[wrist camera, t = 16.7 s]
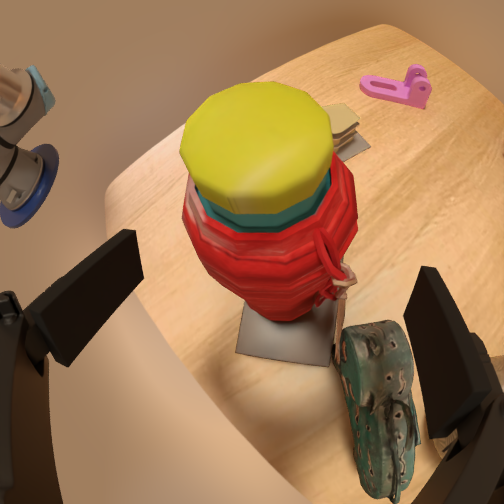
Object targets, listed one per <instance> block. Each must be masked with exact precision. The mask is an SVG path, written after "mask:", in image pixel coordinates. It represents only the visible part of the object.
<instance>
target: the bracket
mask: <svg viewBox="0 0 504 504" xmlns="http://www.w3.org/2000/svg"><path fill="white" fill-rule="evenodd" d="M416 73H419V74H416ZM375 86H376V87H375ZM380 87H381V88H380ZM384 88H385V89H384ZM360 89H361V91H362V92H363V93H365V94H366V95H368V96H370V97H374V98H379V99H384V100H388V101H393V102H397V103H401V104H405V105H410V106H413V107H417V108H421V109H424V107H425V105H426V102H427V100H428V98H429V95H430V93H431V90H432V88H431V85H430V82H429V80H428V79H427V73H426V71H425V69H424V67H423V66H421V65H419V64H413V65H411V66H410V67H409V68H408V71H407V74H406V77H405V81H404V82H400V81H396V80H392V79H387V78H383V77H378V76H373V75H366V76H363V77H362V78H361V80H360ZM389 89H390V90H389Z"/></svg>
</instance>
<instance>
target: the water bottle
mask: <svg viewBox="0 0 504 504" xmlns="http://www.w3.org/2000/svg"><path fill="white" fill-rule="evenodd" d="M333 149H334V145H333V137H332V129H331V122H330V117H329V115H328V113H327V112H326V111H325V110H324V109H323V108H322V107H321V106H320V105H319V104H318V103H317V102H316V101H315V100H314V99H313V98H312V97H311V96H310V95H309V94H308V93H307V92H305V91H302V90H299V89H296V88H293V87H290V86H287V85H284V84H281V83H277V82H253V83H240V84H238V85H235V86H233V87H230V88H228V89H226V90H223V91H221V92H219V93H217V94H214V95H212V96H210V97H209V98H208V99H207V100H206V101H205V102H204V103H203V104H202V105H201V106H200V107H199V108H198V109H197V110H196V111H195V112H194V113H193V114H192V115H191V116H190V117H189V119H188V120H187V121H186V125H185V129H184V133H183V137H182V141H181V145H180V151H179V153H180V155H181V157H182V159H183V161H184V163H185V165H186V167H187V170H188V172H189V176H188V181H187V187H186V193H185V199H184V205H183V212H182V221H183V223H184V225H185V228H186V230H187V232H188V235H189V237H190V239H191V241H192V244H193V246H194V248H195V251H196V253H197V255H198V257H199V259H200V261H201V262H202V264H203V266H204V267H205V269H206V270H207V272H208V274H209V275H210V276H212V277H213V278H214V279H215V280H216V281H218V282H219V283H220V284H221V285H222V286H224V287H225V288H227V289H228V290H230V291H232V292H233V293H235V294H236V295H238V296H239V297H241V298H243V299H244V300H245V301H246V302H247V304H248V306H249V307H250V308H251V309H253V310H254V311H256V312H257V313H259V314H261V315H262V316H264V317H266V318H267V319H269V320H273V321H292V320H294V319H296V318H297V317H299V316H301V315H303V314H305V313H307V312H308V311H310V310H311V308H312V307H313V305H314V303H315V306H316V307H317V308H318V307H319V306H320V305H321V304H322V303H323V302H324V301H325V300H326V299H330V300H333V301H336V300H337V299H338V311H337V334H336V351H335V358H336V354H337V350H338V345H339V341H340V336H341V332H342V327H343V322H344V317H345V299H347V294H346V290H347V289H348V288H349V287H350V286H352V285H354V284H356V283H357V279H356V275H355V273H354V272H352V270H351V269H350V267H349V266H348V265H346V264H344V263H340V261H341V259H342V257H343V255H344V254H345V252H346V250H347V249H348V247H349V245H350V243H351V242H352V240H353V238H354V236H355V235H356V233H357V231H358V226H357V219H358V213H357V203H356V193H355V185H354V177H353V174H352V173H351V172H350V170H349V169H348V168H347V167H346V165H345V164H344V163H343V162H342V161H341V159H340V158H339V157H338V156H337V155H336V153H335V152H334V151H333ZM329 278H330V279H329ZM337 287H338V288H339V290H338V289H337ZM332 293H333V294H332ZM323 296H324V297H323ZM322 297H323V298H322ZM321 298H322V299H321ZM320 299H321V300H320ZM334 304H335V303H334ZM332 311H333V310H332ZM331 314H332V313H331ZM330 317H331V316H330ZM329 320H330V319H329ZM328 323H329V322H328ZM327 326H328V325H327ZM321 344H322V343H321ZM320 347H321V346H320Z"/></svg>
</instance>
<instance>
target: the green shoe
mask: <svg viewBox="0 0 504 504" xmlns="http://www.w3.org/2000/svg"><path fill="white" fill-rule="evenodd" d="M335 351H336V343H335V344H333V347H332V358H333V363H334V365H335V367H336V369H337V371H338V372H339V374H340V377H341V381H342V385H343V390H344V394H345V399H346V403H347V407H348V412H349V417H350V422H351V427H352V433H353V438H354V444H355V447H354V449H353V450H354V459H355V462H356V465H357V470H358V474H359V479H360V484H361V486H362V487H363V489H364V490H365V492H366V493H367V494H368V495H369V496H370V497H372V498H374V499H381V498H385V497H387V498H389V499H390V501H391V502H392V503H393V504H397V503H399V501H400V495H401V491H403V490H405V489H406V488H407V487H408V485H409V483H410V481H411V479H412V476H413V472H414V461H415V446H417V445H419V444H421V441H420V433H419V428H418V422H417V415H416V410H415V406H414V402H413V399H412V392H411V386H412V382H413V376H414V363H413V357H412V353H411V349H410V346H409V343H408V340H407V338H406V336H405V333H404V331H403V330H402V328H401V327H400V325H399V324H398V323H396V322H395V321H391V320H384V321H379V322H374V323H368V324H362V325H355V326H349V327H346V328H344V329H343V330H342V332H341V336H340V341H339V345H338V350H337V354H336V358H335ZM394 495H395V498H393V496H394Z"/></svg>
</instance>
